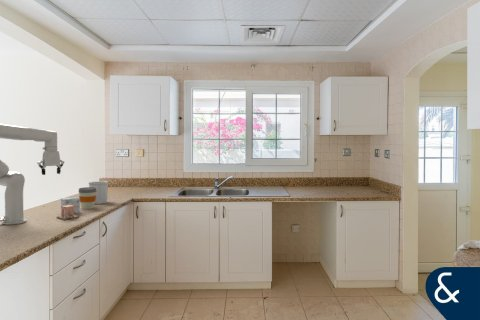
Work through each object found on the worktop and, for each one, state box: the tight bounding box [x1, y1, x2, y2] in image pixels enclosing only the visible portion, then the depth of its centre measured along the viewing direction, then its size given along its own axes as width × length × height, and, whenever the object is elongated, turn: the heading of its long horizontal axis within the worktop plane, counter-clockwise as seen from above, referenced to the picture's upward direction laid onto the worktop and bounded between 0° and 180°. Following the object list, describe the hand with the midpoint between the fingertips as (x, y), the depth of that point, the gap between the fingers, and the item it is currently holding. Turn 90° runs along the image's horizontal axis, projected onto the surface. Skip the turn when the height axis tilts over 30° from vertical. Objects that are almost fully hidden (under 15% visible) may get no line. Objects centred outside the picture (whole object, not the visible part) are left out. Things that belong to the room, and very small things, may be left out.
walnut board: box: [56, 214, 80, 221], centre depth 221 cm, size 10×10×1 cm
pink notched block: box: [60, 205, 75, 218], centre depth 221 cm, size 6×6×7 cm
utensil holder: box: [88, 180, 109, 205], centre depth 277 cm, size 15×15×18 cm
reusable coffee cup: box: [78, 186, 96, 210], centre depth 256 cm, size 12×13×15 cm
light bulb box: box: [60, 196, 81, 215], centre depth 236 cm, size 11×7×11 cm, turn 141°
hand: (51, 174), depth 226 cm, fingers open, 9 cm apart
